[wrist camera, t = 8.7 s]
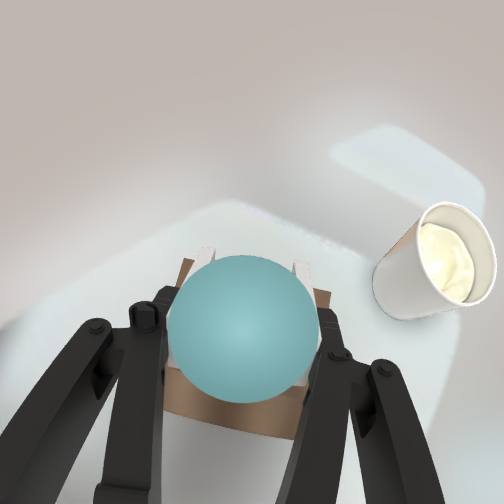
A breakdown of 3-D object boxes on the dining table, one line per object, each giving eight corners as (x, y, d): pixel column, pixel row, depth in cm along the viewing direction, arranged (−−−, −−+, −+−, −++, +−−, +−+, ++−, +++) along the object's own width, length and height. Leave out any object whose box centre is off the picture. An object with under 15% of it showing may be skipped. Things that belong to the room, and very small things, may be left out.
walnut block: (157, 398, 29) (144, 403, 24) (191, 273, 34) (184, 257, 29) (290, 430, 28) (299, 440, 24) (318, 302, 33) (331, 292, 29)
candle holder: (352, 261, 35) (398, 214, 24) (414, 238, 37) (467, 191, 25) (384, 340, 32) (446, 325, 21) (445, 308, 34) (509, 281, 22)
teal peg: (200, 372, 19) (151, 379, 8) (216, 309, 21) (191, 241, 10) (266, 388, 19) (301, 415, 8) (280, 324, 21) (329, 273, 10)
